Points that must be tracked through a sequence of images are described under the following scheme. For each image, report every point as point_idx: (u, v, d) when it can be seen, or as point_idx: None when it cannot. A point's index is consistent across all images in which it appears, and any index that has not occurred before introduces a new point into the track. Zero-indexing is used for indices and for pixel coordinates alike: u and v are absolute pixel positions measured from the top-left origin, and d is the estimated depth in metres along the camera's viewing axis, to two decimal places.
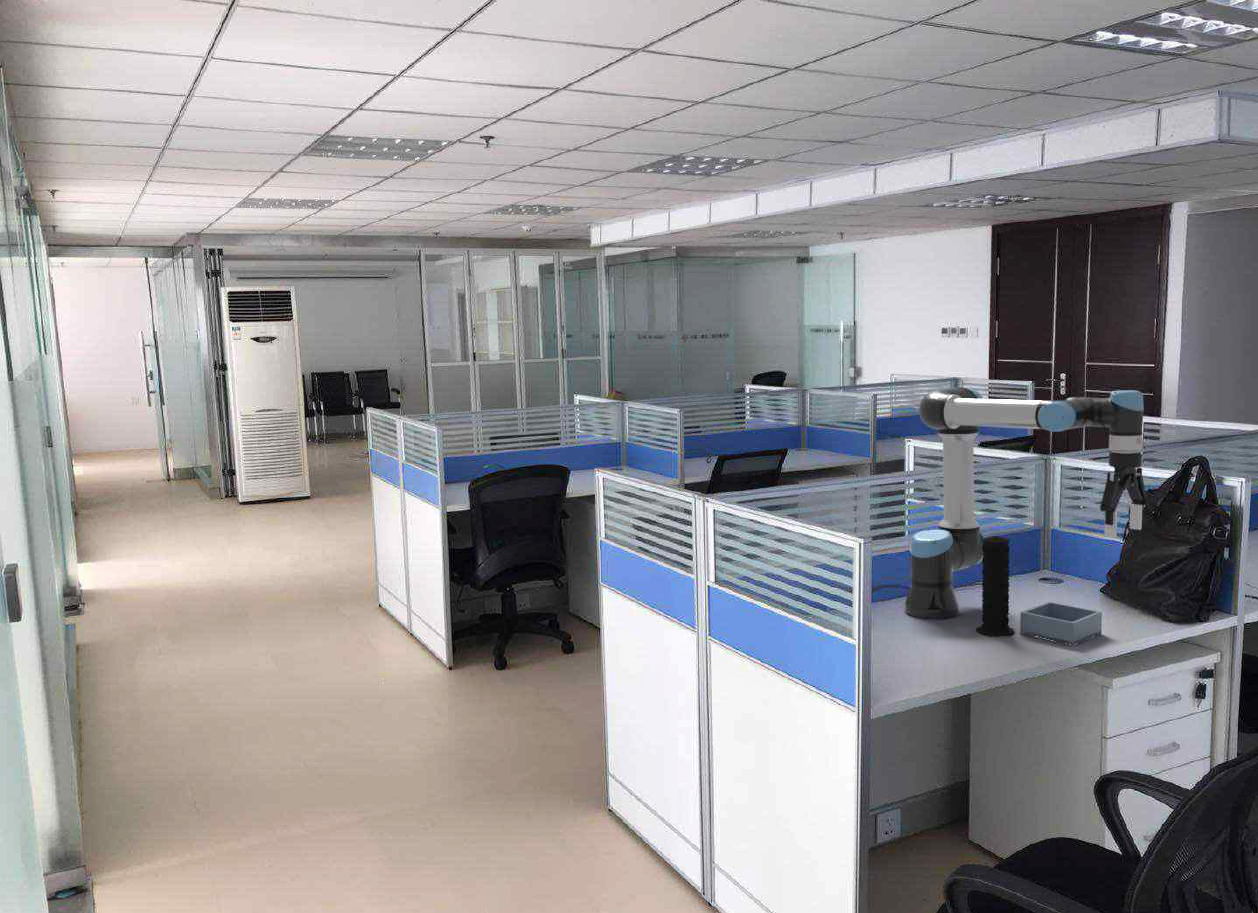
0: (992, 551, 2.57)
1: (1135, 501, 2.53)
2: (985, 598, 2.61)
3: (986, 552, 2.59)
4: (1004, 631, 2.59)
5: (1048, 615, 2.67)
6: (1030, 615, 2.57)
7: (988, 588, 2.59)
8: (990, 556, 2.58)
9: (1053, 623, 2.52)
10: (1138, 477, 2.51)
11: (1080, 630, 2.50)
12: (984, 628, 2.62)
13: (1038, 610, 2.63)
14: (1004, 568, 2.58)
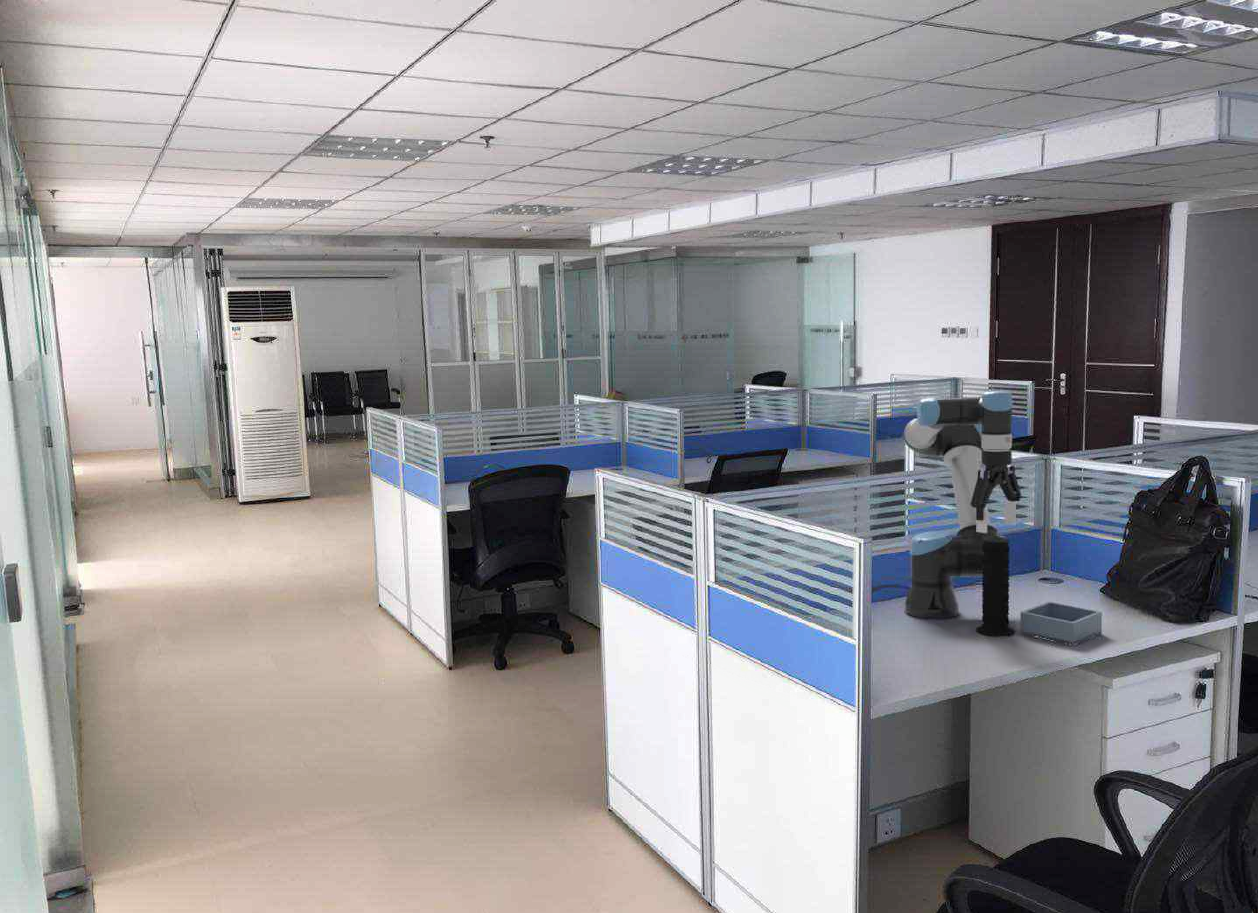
0: (992, 551, 2.57)
1: (1009, 498, 2.63)
2: (985, 598, 2.61)
3: (986, 552, 2.59)
4: (1004, 631, 2.59)
5: (1048, 615, 2.67)
6: (1030, 615, 2.57)
7: (988, 588, 2.59)
8: (990, 556, 2.58)
9: (1053, 623, 2.52)
10: (1011, 474, 2.60)
11: (1080, 630, 2.50)
12: (984, 628, 2.62)
13: (1038, 610, 2.63)
14: (1004, 568, 2.58)
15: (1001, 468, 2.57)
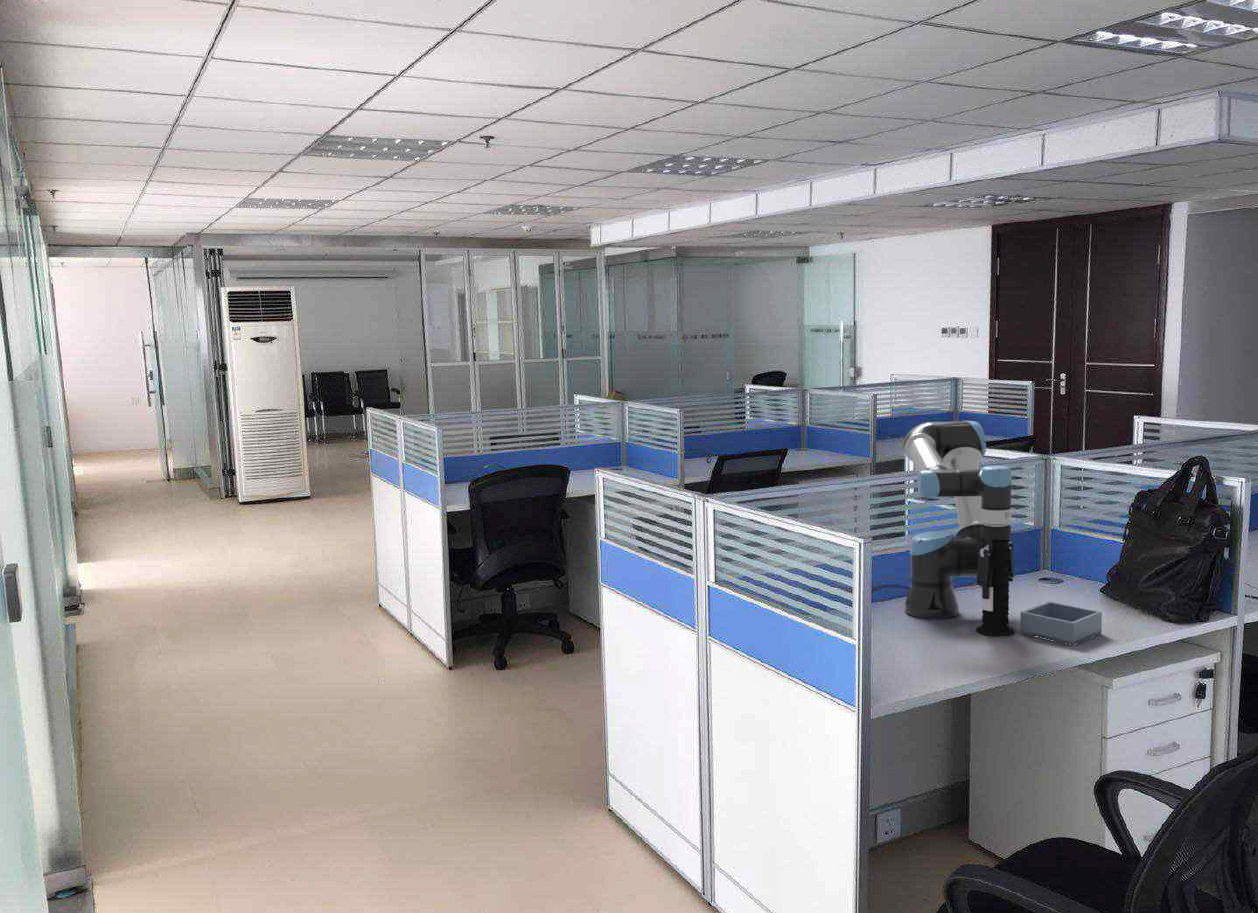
0: None
1: None
2: None
3: None
4: (1004, 630, 2.59)
5: (1048, 615, 2.67)
6: (1030, 615, 2.57)
7: None
8: (990, 556, 2.58)
9: (1053, 623, 2.52)
10: (1009, 551, 2.63)
11: (1080, 630, 2.50)
12: (984, 628, 2.62)
13: (1038, 610, 2.63)
14: (1004, 568, 2.58)
15: None
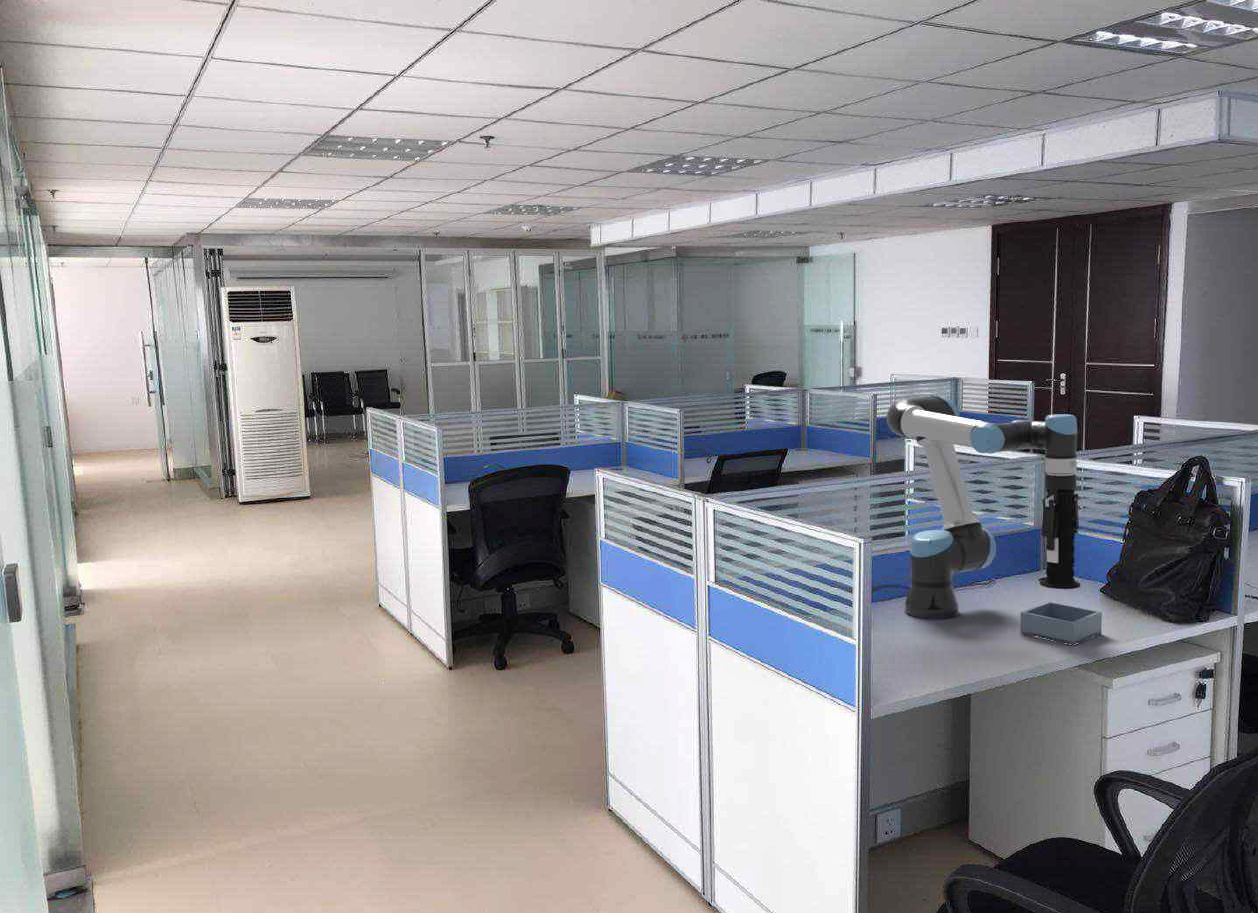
0: None
1: None
2: None
3: None
4: (1070, 583, 2.53)
5: (1048, 615, 2.67)
6: (1030, 615, 2.57)
7: None
8: (1055, 506, 2.52)
9: (1053, 623, 2.52)
10: (1074, 502, 2.57)
11: (1080, 630, 2.50)
12: (1049, 581, 2.56)
13: (1038, 610, 2.63)
14: (1070, 518, 2.52)
15: None
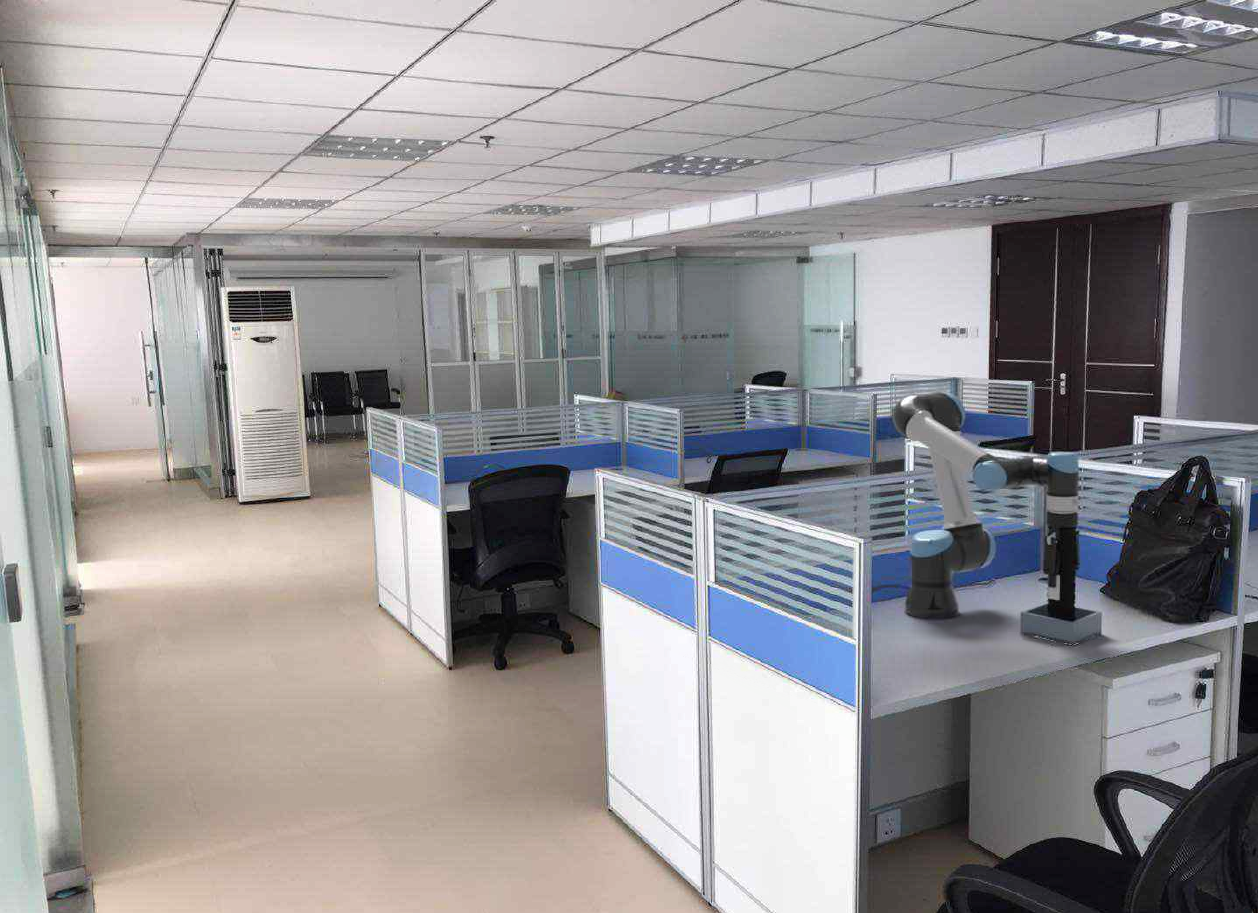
0: None
1: None
2: None
3: None
4: (1071, 620, 2.55)
5: None
6: (1030, 615, 2.57)
7: None
8: (1057, 544, 2.53)
9: (1053, 623, 2.52)
10: None
11: (1080, 630, 2.50)
12: None
13: (1038, 610, 2.63)
14: (1071, 556, 2.53)
15: None
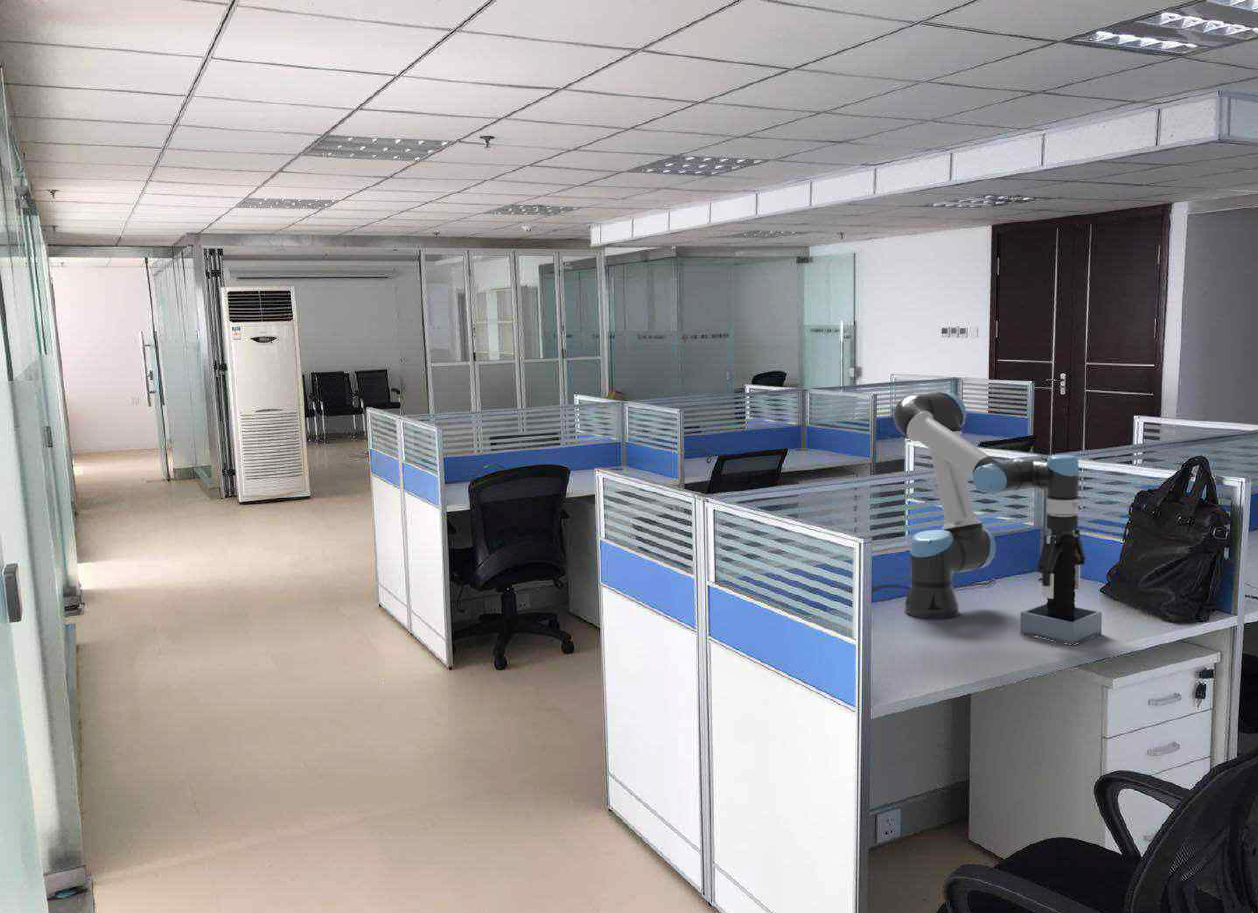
0: None
1: None
2: None
3: None
4: None
5: None
6: (1030, 615, 2.57)
7: (1054, 586, 2.55)
8: None
9: (1053, 623, 2.52)
10: (1076, 538, 2.58)
11: (1080, 630, 2.50)
12: None
13: (1038, 610, 2.63)
14: (1071, 566, 2.53)
15: (1067, 532, 2.55)
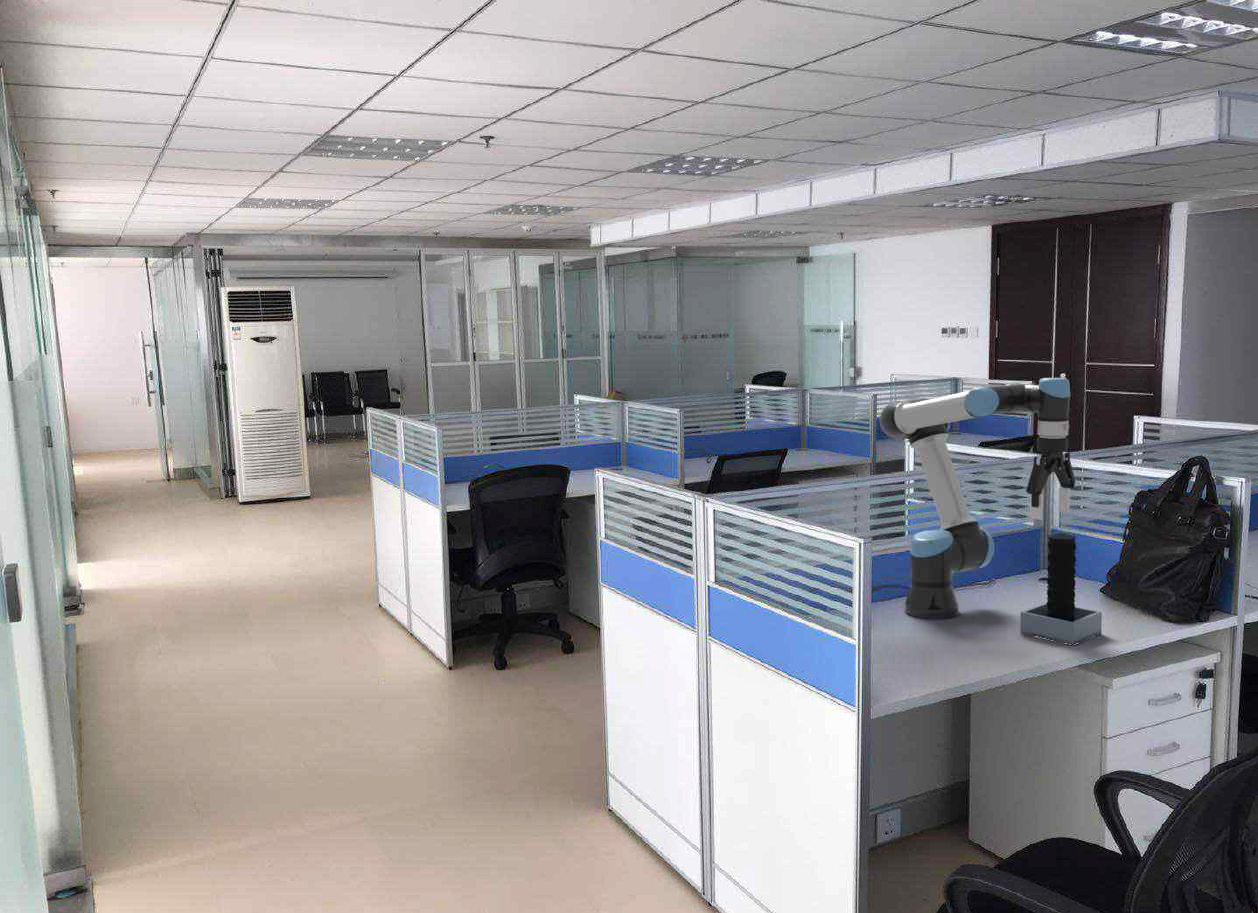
0: (1059, 548, 2.53)
1: (1063, 485, 2.63)
2: (1051, 596, 2.56)
3: (1052, 549, 2.55)
4: None
5: None
6: (1030, 615, 2.57)
7: (1054, 586, 2.55)
8: (1056, 553, 2.54)
9: (1053, 623, 2.52)
10: (1066, 461, 2.60)
11: (1080, 630, 2.50)
12: None
13: (1038, 610, 2.63)
14: (1071, 566, 2.53)
15: (1057, 455, 2.56)
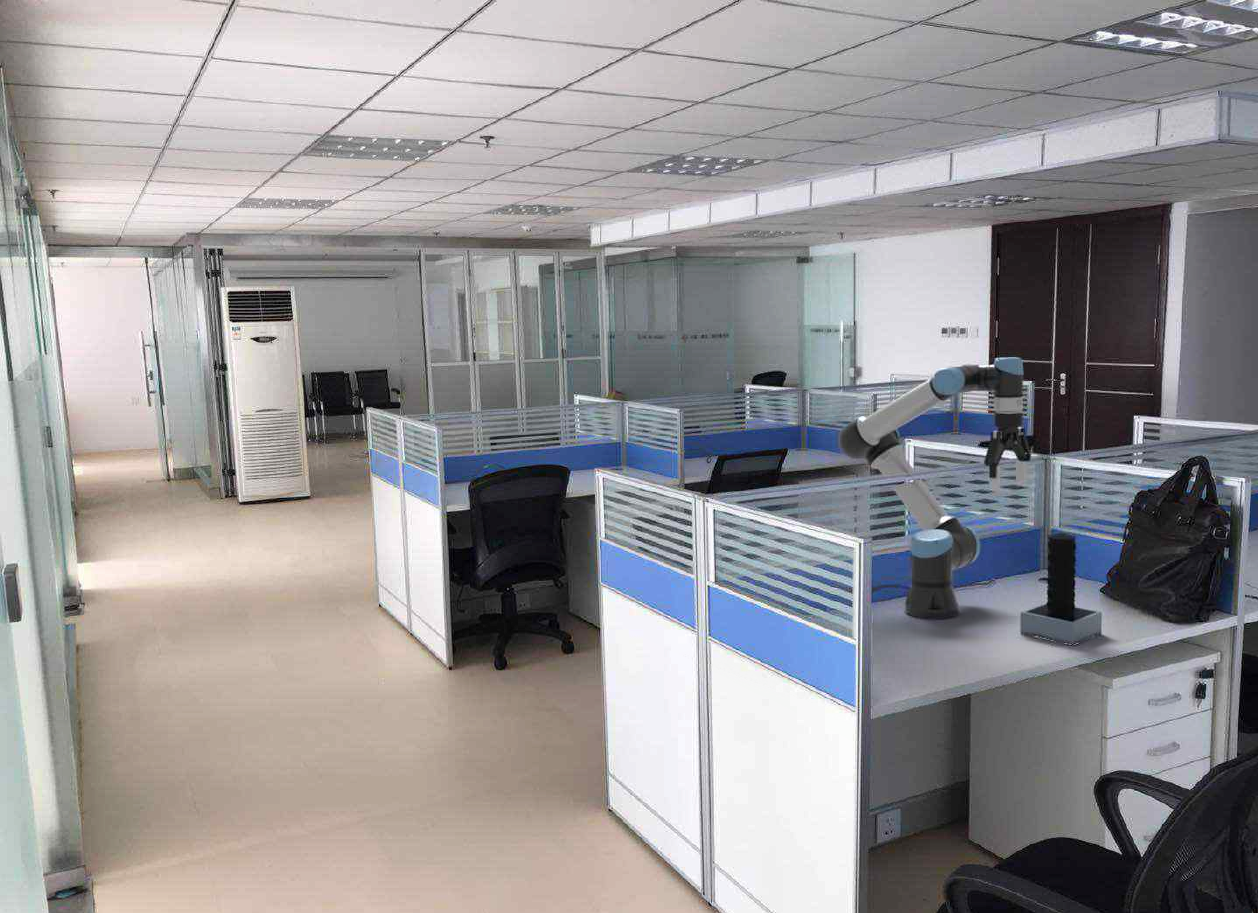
0: (1059, 548, 2.53)
1: (1020, 458, 2.80)
2: (1051, 596, 2.56)
3: (1052, 549, 2.55)
4: None
5: None
6: (1030, 615, 2.57)
7: (1054, 586, 2.55)
8: (1056, 553, 2.54)
9: (1053, 623, 2.52)
10: (1022, 436, 2.77)
11: (1080, 630, 2.50)
12: None
13: (1038, 610, 2.63)
14: (1071, 566, 2.53)
15: (1012, 429, 2.74)
